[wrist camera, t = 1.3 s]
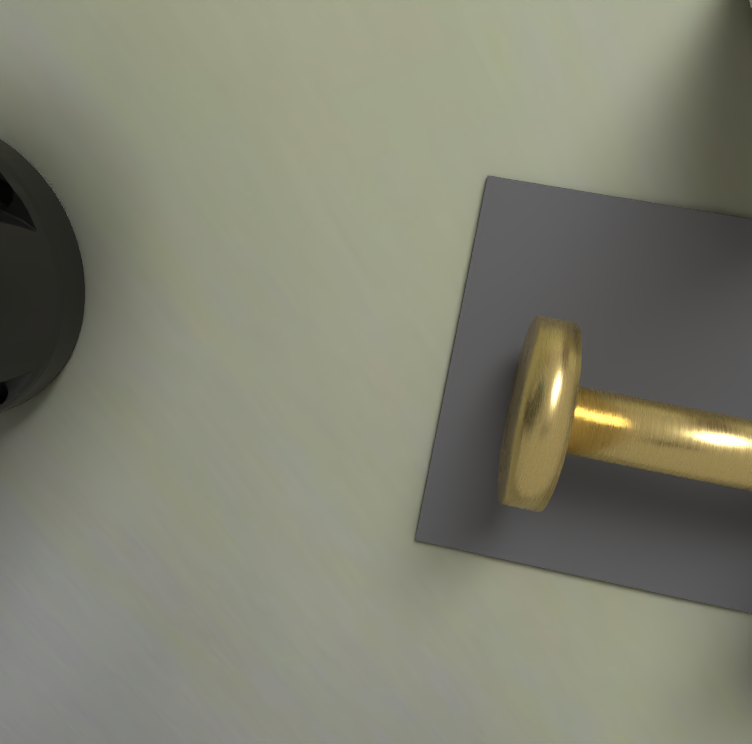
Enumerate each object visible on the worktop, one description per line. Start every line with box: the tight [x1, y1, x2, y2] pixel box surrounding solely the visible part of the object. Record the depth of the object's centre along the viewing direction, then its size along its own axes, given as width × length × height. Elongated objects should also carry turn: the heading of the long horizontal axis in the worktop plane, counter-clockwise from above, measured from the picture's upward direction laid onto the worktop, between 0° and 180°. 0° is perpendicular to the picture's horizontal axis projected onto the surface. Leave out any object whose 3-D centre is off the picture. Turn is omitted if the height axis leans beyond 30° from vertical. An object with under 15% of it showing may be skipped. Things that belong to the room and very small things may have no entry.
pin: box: [498, 315, 752, 512], centre depth 27 cm, size 18×8×8 cm, turn 80°
